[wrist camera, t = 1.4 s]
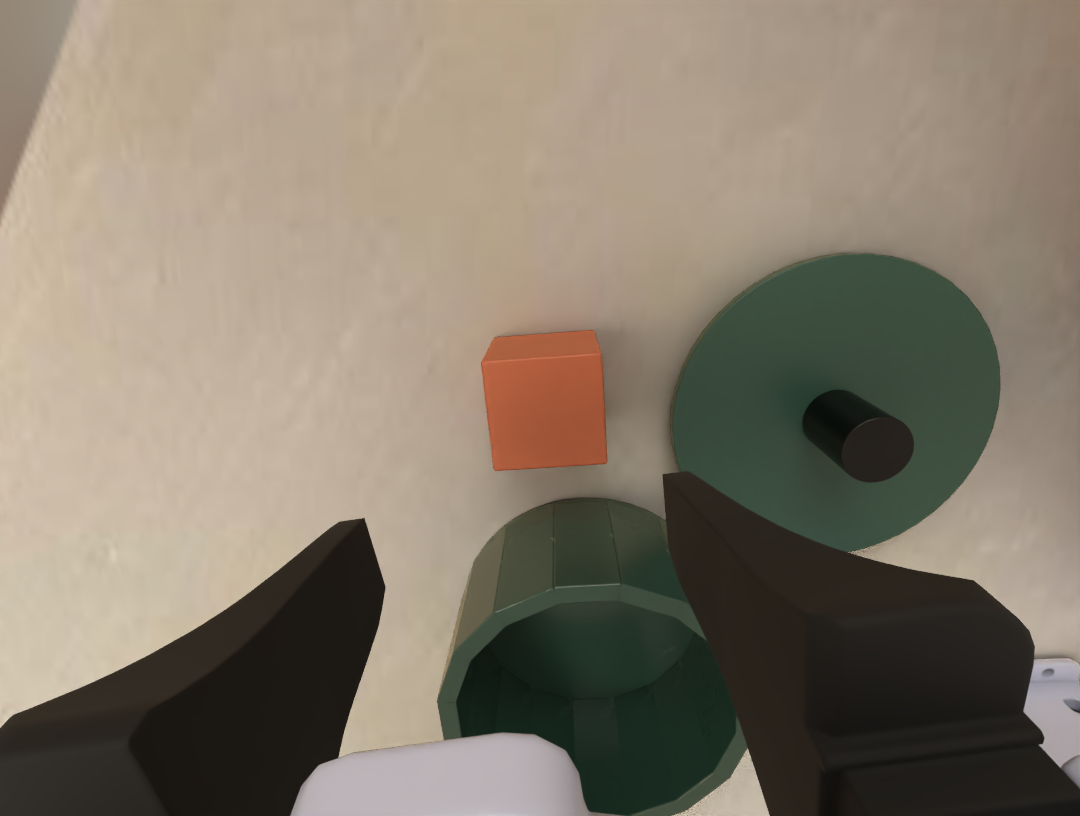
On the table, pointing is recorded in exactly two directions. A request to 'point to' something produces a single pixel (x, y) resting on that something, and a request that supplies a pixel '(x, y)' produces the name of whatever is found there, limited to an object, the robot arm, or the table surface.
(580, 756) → the pot
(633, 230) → the table surface
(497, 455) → the block
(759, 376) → the lid
